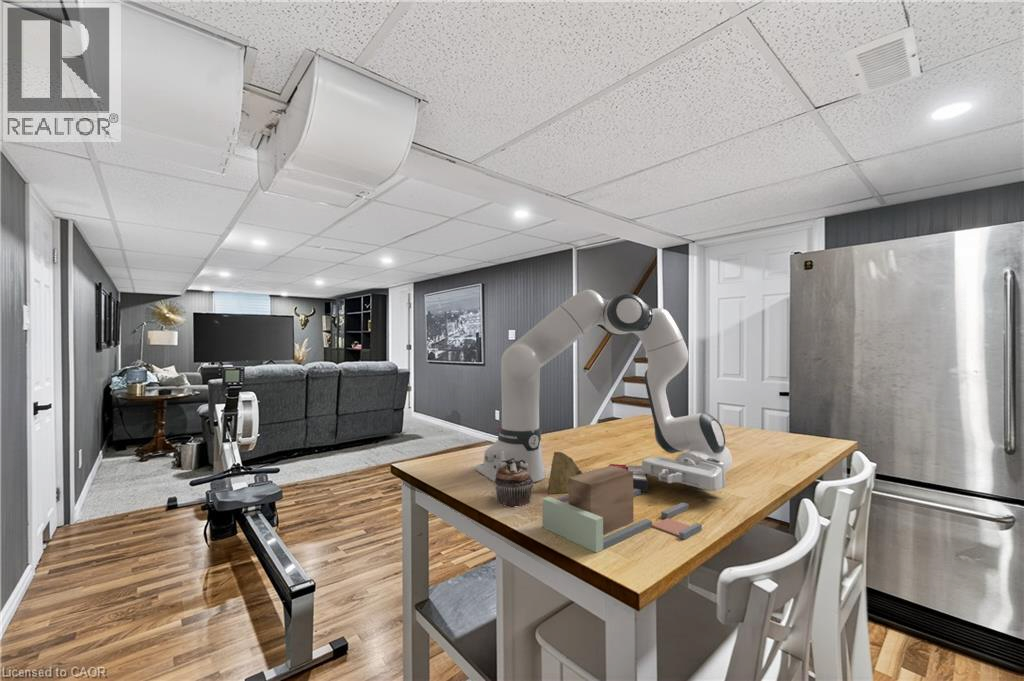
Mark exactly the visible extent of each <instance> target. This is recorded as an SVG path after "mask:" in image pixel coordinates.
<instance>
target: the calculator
mask: <svg viewBox="0 0 1024 681" xmlns="http://www.w3.org/2000/svg"><path fill="white" fill-rule="evenodd" d="M608 466H614V467H618V468H622V469H626V470H629V471H633V489H635V488H637V489H640V490H641V494H642V493H645V494H646V495H648V494H649V477H648V476H649V475H648V474H644V473H643V472H642V465H632V464H631V465H630V464H628V465H627V464H618V463H617V464H616V463H610V464H609V465H608ZM645 494H644V495H645Z"/></svg>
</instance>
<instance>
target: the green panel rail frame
mask: <svg viewBox="0 0 1024 681" xmlns="http://www.w3.org/2000/svg"><path fill="white" fill-rule="evenodd" d="M641 494H642V493H641V490H640V489H637V488H635V489H633V498H634V497H637V495H638V496H639V495H641ZM541 501H542V528H544V529H546V530H548V531H550V532H552V533H554V534H556V535H558V536H560V537H562V538H564V539H567V540H569V541H570V542H573V543H575V544H577V545H578V546H581V547H583V548H584V549H587V550H589V551H591V552H594V553H595V554H596V553H599V552H601V551H603V550H605V549H609V548H610V547H612V546H614V545H616V544H618V543H620V542H622V541H625V540H626V539H629V538H630V537H633V536H635V535H637V534H640V533H642V532H643V531H645V530H648V529H650V528H654V529H657V530H660V531H663V532H665V533H668V534H670V535H673V536H676V537H678V538H679V539H680V540H683V539H685V540H686V539H688V538H690V537H691V536H693V535H696V534H697V533H699V532H701V531H702V530H703V527H702V526H703V525H702V523H699V522H696V523H694V524H691V525H689V524H687V523H683V522H681V521H678V520H675V519H672V518H674V517H675V515H676V516H678V515H680V514H682V513H684V512H685V511H688V510H690V509H689V507H690V505H689V503H687V502H684V501H683V502H680V503H678V504H676V505H673V506H671V507H668V508H666V509H665V510H662V511H661V512H660V516H661V518H662V519H663V520H660V521H658V522H656V523H653V521H652V520H650V519H648V518H644V519H642V520H640V521H638V522H637V521H636V522H635V523H632V524H631V525H628V526H627V527H624V528H620V529H619V530H617V531H615V532H613V533H612V532H611V533H610V534H608V535H605V536H604V535H603V517H600V516H598V515H595V514H593V513H590V512H588V511H585V510H582V509H580V508H577V507H575V506H572V505H570V504H568V495H564V496H562V497H559V498H554V497H551V496H546V497H543V498H542V500H541ZM683 511H684V512H683ZM681 512H682V513H681ZM679 513H680V514H679ZM677 514H678V515H677ZM665 518H666V519H665Z"/></svg>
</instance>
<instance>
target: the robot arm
mask: <svg viewBox="0 0 1024 681" xmlns="http://www.w3.org/2000/svg"><path fill="white" fill-rule="evenodd" d="M675 321H676V320H674V318H673V317H672V315H671V314H670V312H669V311H668V310H666V309H665V308H661V307H657V308H652V307H651V306H650V305H648V304H647V303H645V302H644V301H643V299H641V298H640V297H639V296H637V295H635V294H632V293H621V294H618V295H616V296H614V297H613V298H611V299H605V298H603V297H602V296H601V295H600V294H599V293H598V292H597V291H595V290H592V289H584V290H581V291H580V292H578V293H576V294H575V295H573V296H571V297H570V298H568V299H567V300H565V301H564V302H562V303H561V304H559V305H558V307H556V308H555V309H554V310H553V311H551V312H550V313H549V314H548V315H546V316H545V317H544V318H543V319H541V320H540V321H539V322H538V323H536V325H535V326H533V327H532V328H530V330H528V331H527V332H526V333H525V334H523V335H522V336H521V337H520V338H519V339H517V340H516V341H515V342H513V343H512V344H511V345H510V346H509V347H507V348H506V349H505V350H504V352H503V354H502V356H501V361H500V373H501V374H500V379H501V380H500V382H501V383H500V384H501V388H500V389H501V427H499V428H496V434H497V433H499V434H498V436H497V440H496V441H495V442H493V444H491V445H490V446H488V447H487V448H486V450H485V451H484V455H483V463H481V464H479V465H477V466H475V470H476V471H477V472H479V473H481V475H483V476H485V477H486V478H488V479H489V480H491V481H492V482H493V483H495V479H496V477H497V476H496V473H497V471H498V469H499V463H501V462H502V461H507V460H508V459H512V458H514V460H516V461H520V460H524V461H525V462H526V463H527V464H528V468H527V469H528V470H529V472H530V476H531V478H532V480H533V483H535V482H539V481H542V480H544V479H545V478H546V473H545V472H546V466H544V458H543V448H542V444H541V441H542V431H541V427H540V395H541V394H540V392H541V391H540V389H541V387H540V386H541V368H542V367H544V366H545V365H546V364H548V363H549V362H550V361H551V360H553V359H554V358H556V357H557V356H559V355H560V354H561V353H563V352H564V351H565V350H566V349H568V348H569V347H570V346H572V345H573V344H574V343H575V342H577V341H578V340H579V339H580V338H581V337H583V336H584V335H585V334H586V333H588V331H590V330H591V329H593V328H594V327H595V326H597V327H599V328H600V329H602V330H603V331H605V332H607V333H609V334H611V335H613V336H622V335H627V334H631V333H632V334H634V335H635V336H636V337H638V339H639V340H640V342H642V343H641V344H642V346H643V348H644V351H645V354H646V357H647V369H646V371H645V373H644V381H645V384H644V385H645V388H646V393H647V397H648V402H649V406H650V407H649V408H650V411H651V414H652V415H651V416H652V420H653V425H654V437H655V441H656V444H658V446H659V448H661V449H662V450H664V451H665V452H667V453H668V454H676V453H677V454H678V453H679V454H678V455H677V456H676V458H675V459H671V458H668V457H664V456H663V457H662V456H652V457H649V458H644V459H642V461H641V466H642V472H643V473H644V474H647V475H648V476H652V477H656V478H658V481H660V482H662V483H663V482H664V483H668V484H672V483H679V484H684V485H687V486H689V487H694V488H698V489H703V490H706V491H711V492H717V491H720V490H721V489H724V488H725V487H726V473H727V472H728V471H729V470H730V468H731V467H732V463H733V456H732V453H731V451H730V449H729V448H728V447H727V446H726V437H725V436H726V435H725V432H724V430H723V429H724V428H723V427H722V425H721V423H720V422H719V421H718V420H717V419H716V417H714V416H713V415H712V414H711V413H710V414H709V413H707V412H700V413H692V414H689V415H685V416H677V417H674V416H673V415H672V414H671V409H670V405H669V400H668V396H667V392H666V391H667V386H668V383H670V381H671V380H673V378H675V377H676V376H677V375H679V374H680V373H681V372H682V371H683V370H684V369H685V368H686V366H687V364H688V362H689V351H688V347H687V345H686V342H685V340H684V338H683V334H682V332H681V331H680V329H679V327H678V325H677V323H676V322H675ZM680 452H681V453H680Z"/></svg>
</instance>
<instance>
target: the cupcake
mask: <svg viewBox="0 0 1024 681" xmlns="http://www.w3.org/2000/svg"><path fill="white" fill-rule="evenodd" d="M527 468H528V464H527V463H526V462H525V461H524V460H520V461H516V460H514V458H512V459H508V460H507V461H502V462H501V463H499V469H498V471H497V473H496V476H497V477H496V479H495V482H494V485H495V491H496V495H497V496H496V497H497V502H498V504H500V505H501V504H502V505H501V506H504V505H506V506H505V507H508V506H512V507H511V508H514V507H513V506H520V507H524V506H527V505H528V504H529V503H530V502H531V495H532V489H533V485H534V482H533V480H532V478H531V476H530V472H529V470H528V469H527ZM526 504H527V505H526ZM523 505H524V506H523Z"/></svg>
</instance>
